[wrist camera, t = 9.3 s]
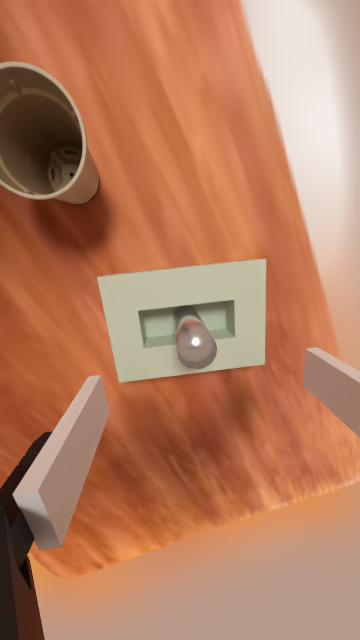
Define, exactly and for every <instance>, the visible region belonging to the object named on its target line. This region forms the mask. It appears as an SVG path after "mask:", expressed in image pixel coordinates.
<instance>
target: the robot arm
mask: <svg viewBox="0 0 360 640" xmlns="http://www.w3.org/2000/svg"><path fill="white" fill-rule="evenodd" d="M303 386H304V387H305V388H306V389H307V390H308V391H310V392H311V393H312V394H313V395H314V396H315V397H316V398H317V399H318V400H319V401H321V402H322V403H323V404H324V405H325V406H326V407H327V408H328V409H329V410H330V411H331V412H333V413H334V414H335V415H336V416H337V417H338V418H339V419H340V420H341V421H342V422H344V423H345V424H346V425H347V426H348V427H349V428H350V429H351V430H352V431H353V432H355V433H356V434H357V435H358V436H359V437H360V371H358V370H356V369H354V368H352V367H351V366H349V365H347V364H346V363H344V362H342V361H340V360H339V359H337V358H335V357H333V356H332V355H330V354H328V353H326V352H325V351H323V350H321V349H320V348H318V347H316V348H308V349H306V356H305V367H304V379H303ZM109 413H110V410H109V405H108V401H107V397H106V393H105V389H104V385H103V381H102V377H101V375H97V376H89V377H88V378H87V380H86V381H85V383H84V384H83V386H82V388H81V389H80V391H79V392H78V394H77V395H76V397H75V398H74V400H73V401H72V403H71V405H70V406H69V408H68V409H67V411H66V412H65V414H64V415H63V417H62V418H61V420H60V422H59V423H58V425H57V426H56V428H55V429H54V431H53V432H45V433H44V434H42V435H41V436H40V437H39V438H38V439H37V440H36V441H35V442H33V444H32V445H31V447H30V448H29V449H28V451H27V452H26V454H25V456H23V458H22V459H21V461H20V462H19V465H18V466H16V468H15V469H14V470H13V472H12V473H11V475H10V476H9V477H8V479H7V480H6V482H5V483H4V484H3V486H2V487H1V489H0V640H45V639H44V634H43V629H42V624H41V618H40V613H39V607H38V602H37V597H36V591H35V586H34V580H33V575H32V570H31V565H30V560H29V558H28V556H27V554H28V552H29V550H30V548H31V546H32V543H33V541H34V540H35V542H36V545H37V547H38V549H39V550H45V549H51V548H57V547H62V544H63V542H64V539H65V536H66V533H67V530H68V528H69V525H70V522H71V519H72V516H73V514H74V511H75V508H76V505H77V502H78V500H79V497H80V494H81V491H82V488H83V486H84V483H85V480H86V477H87V474H88V472H89V469H90V466H91V463H92V461H93V458H94V455H95V452H96V449H97V447H98V444H99V441H100V438H101V435H102V433H103V430H104V427H105V424H106V421H107V419H108V416H109Z"/></svg>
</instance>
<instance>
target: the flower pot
mask: <svg viewBox="0 0 360 640" xmlns="http://www.w3.org/2000/svg"><path fill="white" fill-rule="evenodd" d="M67 150H74V151H76V154H71V153H67V154H66V153H65V151H67ZM52 169H53V170H54V174H55V179H54V180H53V178H52ZM70 173H73V174H74V175H73V176H72V177H71V176H70ZM0 184H1V185H2V186H3V187H4V188H6V189H8V190H9V191H11V192H13V193H15V194H17V195H20V196H22V197H26V198H29V199H35V200H47V199H52V198H54V199H57V200H61V201H64V202H68V203H71V204H82V203H85V202H87V201H89V200H90V199H91V198H92V196H93V195H94V194H95V193H96V191H97V189H98V184H99V174H98V170H97V167H96V164H95V162H94V160H93V158H92V156H91V154H90V151H89V149H88V147H87V137H86V131H85V126H84V123H83V120H82V117H81V114H80V112H79V110H78V108H77V106H76V104H75V102H74V101H73V99H72V97H71V96H70V94H69V93H68V91H67V90H66V89H65V88H64V87H63V86H62V85H61V84H60V82H59V81H57V80H56V79H55V78H54V77H53V76H52V75H50V74H49V73H47V72H46V71H44V70H43V69H41V68H39V67H37V66H34V65H31V64H28V63H24V62H20V61H19V62H3V63H0Z"/></svg>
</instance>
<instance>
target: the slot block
mask: <svg viewBox="0 0 360 640" xmlns="http://www.w3.org/2000/svg"><path fill="white" fill-rule="evenodd" d="M97 279H98V284H99V289H100V294H101V299H102V303H103V308H104V313H105V318H106V322H107V327H108V332H109V337H110V341H111V346H112V351H113V356H114V360H115V365H116V370H117V375H118V379H119V383H120V382H128V381H136V380H144V379H152V378H160V377H168V376H176V375H184V374H192V373H200V372H208V371H216V370H224V369H232V368H240V367H248V366H255V365H263V364H265V310H266V259H249V260H240V261H231V262H221V263H212V264H203V265H193V266H184V267H175V268H166V269H156V270H147V271H138V272H128V273H119V274H110V275H104V276H100V277H97ZM184 305H190V306H192V307H193V308H195V310H196V311H197V313H198V314H199V316H200V318H201V319H202V321H203V323H204V324H205V326H206V328H207V329H208V331H209V332H210V334H211V336H212V337H213V339H214V341H215V342H216V345H217V355H216V357H215V359H214V361H213V362H212V363H211V364H210V365H209V366H207V367H205V368H202V369H190V368H188V367H186V366H184V365H183V364H182V363H181V362H180V360H179V358H178V355H177V347H176V338H175V330H174V321H173V314H174V312H175V310H176V309H177V308H178V307H179V306H184Z"/></svg>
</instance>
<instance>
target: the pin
mask: <svg viewBox="0 0 360 640" xmlns="http://www.w3.org/2000/svg"><path fill="white" fill-rule="evenodd" d="M173 321H174V330H175V338H176V347H177V355H178V358H179V360H180V362H181V363H182V364H183V365H184V366H186V367H188V368H190V369H202V368H205V367H207V366H209V365H210V364H211V363H212V362H213V361H214V359H215V357H216V355H217V345H216V342H215V341H214V339H213V337H212V336H211V334H210V332H209V331H208V329H207V328H206V326H205V324H204V323H203V321H202V319H201V318H200V316H199V314H198V313H197V311H196V310H195V308H193V307H192V306H190V305H184V306H179V307H178V308H177V309H176V310H175V312H174V314H173Z"/></svg>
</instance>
